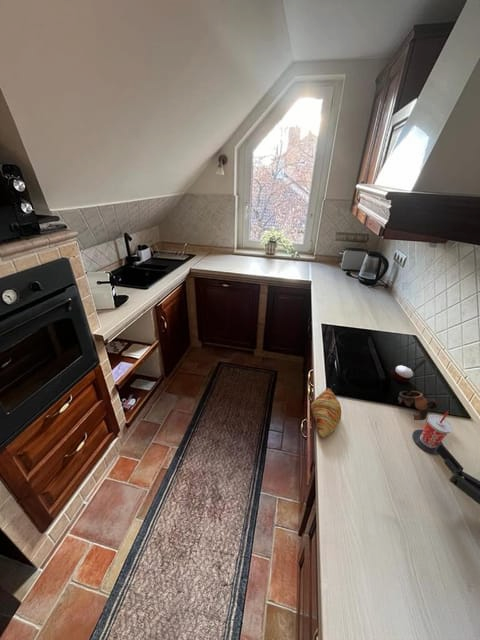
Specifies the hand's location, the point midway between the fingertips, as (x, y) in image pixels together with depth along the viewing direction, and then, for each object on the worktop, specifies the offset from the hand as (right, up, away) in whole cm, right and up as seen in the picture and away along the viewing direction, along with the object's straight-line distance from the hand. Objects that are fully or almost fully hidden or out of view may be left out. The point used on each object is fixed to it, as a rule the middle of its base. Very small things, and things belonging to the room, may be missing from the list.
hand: (461, 444), depth 70 cm
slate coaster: (-1, -4, +11) cm, 12 cm away
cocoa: (+6, +10, +35) cm, 37 cm away
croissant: (-32, +1, +19) cm, 37 cm away
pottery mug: (+2, +2, +22) cm, 22 cm away
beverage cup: (-1, -4, +11) cm, 12 cm away
